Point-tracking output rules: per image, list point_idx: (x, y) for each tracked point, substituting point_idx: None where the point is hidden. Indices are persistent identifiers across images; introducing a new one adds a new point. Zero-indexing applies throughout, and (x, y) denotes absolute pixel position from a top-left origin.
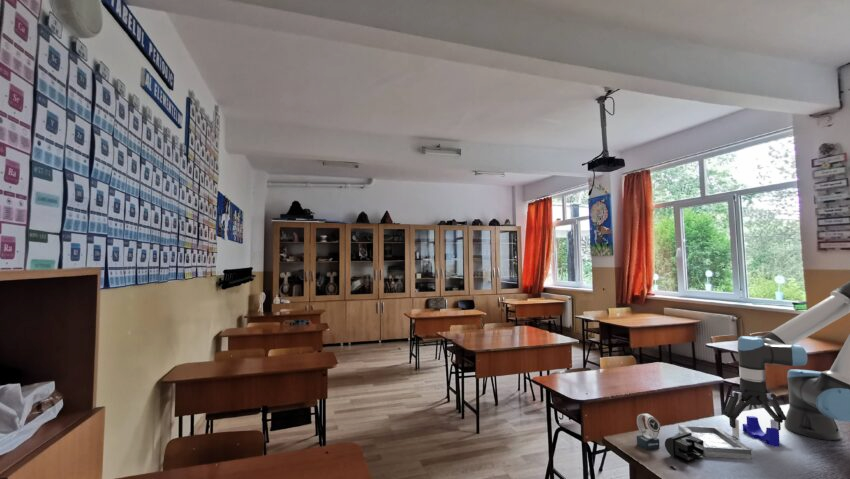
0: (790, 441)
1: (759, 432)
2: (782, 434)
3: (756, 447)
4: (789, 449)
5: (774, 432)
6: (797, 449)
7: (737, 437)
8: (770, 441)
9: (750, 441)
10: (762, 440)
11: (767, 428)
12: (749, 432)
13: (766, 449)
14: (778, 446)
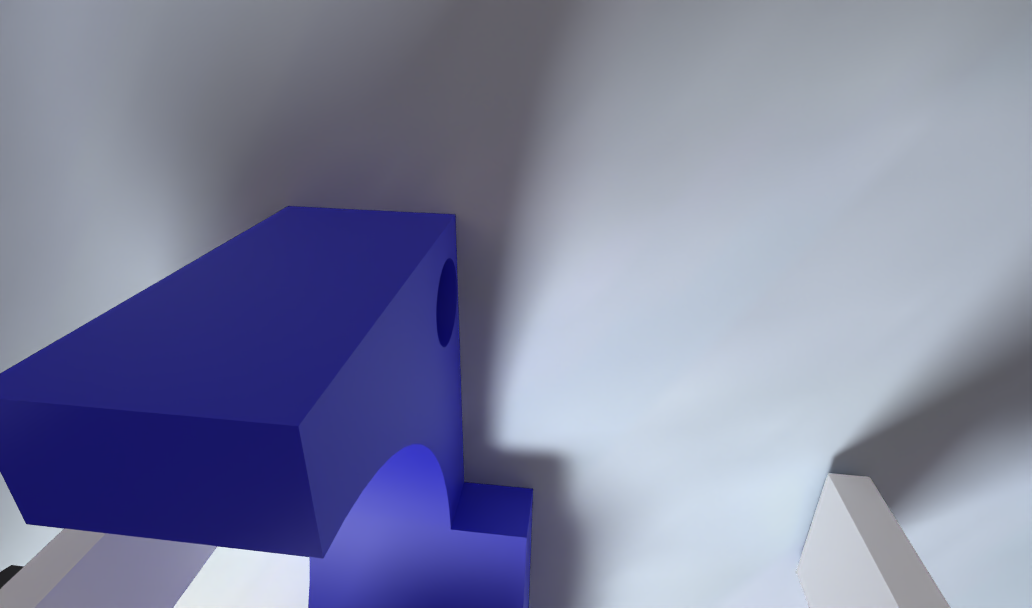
0: None
1: (380, 586)
2: None
3: (819, 116)
4: (168, 93)
5: (192, 349)
6: (26, 112)
7: (869, 484)
8: (423, 244)
9: (699, 379)
10: (460, 404)
11: (318, 505)
12: (524, 605)
13: (662, 29)
14: (308, 209)
